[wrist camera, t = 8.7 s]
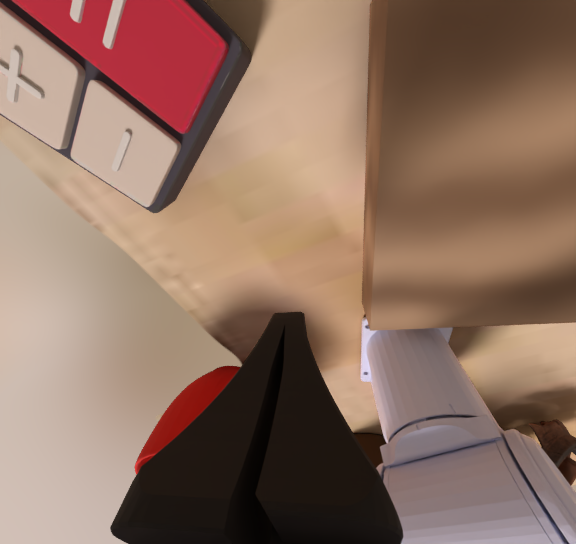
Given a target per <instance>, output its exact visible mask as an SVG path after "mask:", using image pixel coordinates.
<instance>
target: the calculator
mask: <svg viewBox="0 0 576 544" xmlns="http://www.w3.org/2000/svg"><path fill="white" fill-rule="evenodd" d="M250 62H251V53H250V50H249V49H248V47H247V46H246V45H245V44H244V43H243V41H242V40H241V39H240V38H239V37H238V36H237V34H236V33H235V32H234V31H233V30H232V29H231V28H230V27H229V26H228V25H227V24H226V23H225V22H224V21H223V20H222V19H221V18H220V17H219V16H218V15H217V14H216V13H215V12H214V11H213V10H212V9H211V8H210V7H209V6H208V5H207V4H206V3H205V2H204V1H203V0H0V115H2V116H3V117H5V118H6V119H8V120H9V121H11V122H12V123H14V124H15V125H17V126H19V127H20V128H22V129H23V130H25V131H26V132H28V133H29V134H31V135H33V136H34V137H36V138H37V139H39V140H40V141H42V142H43V143H45V144H46V145H48V146H50V147H51V148H53V149H54V150H56V151H57V152H59V153H60V154H62V155H63V156H65V157H67V158H68V159H70V160H71V161H73V162H74V163H76V164H77V165H79V166H81V167H82V168H84V169H85V170H87V171H88V172H90V173H91V174H93V175H94V176H96V177H98V178H99V179H101V180H102V181H104V182H105V183H107V184H108V185H110V186H112V187H113V188H115V189H116V190H118V191H119V192H121V193H122V194H124V195H125V196H127V197H129V198H130V199H132V200H133V201H135V202H136V203H138V204H139V205H141V206H142V207H144V208H146V209H147V210H149V211H150V212H153V213H158V212H160V211H161V210H163V209H164V208H165V207H167V206H168V205H170V204H171V203H172V202H174V201H175V200H176V198H177V196H178V194H179V193H180V191H181V189H182V187H183V185H184V183H185V182H186V180H187V178H188V176H189V174H190V172H191V171H192V169H193V167H194V165H195V163H196V162H197V160H198V158H199V156H200V154H201V152H202V151H203V149H204V147H205V145H206V143H207V141H208V140H209V138H210V136H211V134H212V132H213V130H214V129H215V127H216V125H217V123H218V121H219V119H220V118H221V116H222V114H223V112H224V110H225V108H226V107H227V105H228V103H229V101H230V99H231V97H232V96H233V94H234V92H235V90H236V88H237V86H238V85H239V83H240V81H241V79H242V77H243V75H244V74H245V72H246V70H247V68H248V66H249V64H250Z"/></svg>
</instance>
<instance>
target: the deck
mask: <svg viewBox="0 0 576 544" xmlns="http://www.w3.org/2000/svg"><path fill="white" fill-rule="evenodd" d="M362 304H363V308H364V311H365V315H366V318H367V322H368V325H369V329H370V331H375V330H400V329H425V328H449V327H474V326H499V325H523V324H548V323H572V322H576V0H372V2H371V4H370V27H369V64H368V100H367V137H366V173H365V210H364V246H363V283H362Z"/></svg>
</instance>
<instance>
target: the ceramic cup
mask: <svg viewBox="0 0 576 544" xmlns="http://www.w3.org/2000/svg"><path fill="white" fill-rule="evenodd" d="M240 368H241V367H237V366H223V367H219V368H217V369H215V370H213V371H212V372H210V373H207V374H205V375H203V376H202V377H200V378H198V379H197V380H195V381H194V382H193V383H191V384H190V385H189V386H187V387H186V388H185V389H184V390H183V391H182V392H181V393H180V394H179V395H178V396H177V397H176V399H175V400H174V401H173V402H172V403H171V405H170V406H169V407H168V408H167V410H166V411H165V413H164V414H163V416H162V417H161V419H160V420H159V422H158V424H157V425H156V427H155V429H154V430H153V432H152V434H151V435H150V437H149V439H148V440H147V442H146V444H145V446H144V447H143V449H142V451H141V453H140V455H139V457H138V459H137V462H136V464H135V472H136V474H137V473H138V472H139V470H140V468H141V466H142V465H144V464H145V463H146V462H147V461H148V460H150V459H151V458H152V457H153V456H154V455H155V454H157V453H158V452H159V451H160V450H161V449H162V448H164V447H165V446H166V445H167V444H168V443H169V442H171V441H172V440H173V439H174V438H175V437H176V436H177V435H179V434H180V433H181V432H182V431H183V430H184V429H185V428H186V427H187V426H188V425H189V424H190V423H191V422H192V421H193V420H194V419H195V418H196V417H197V416H198V415H199V414H200V413H202V412H203V410H204V409H205V408H206V407H207V406H208V405H209V404H210V403H211V402H212V401H213V400H214V399H215V398H216V397H217V395H218V394H219V393H220V392H221V391H222V390H223V389H224V388H225V386H226V385H227V384H228V383H229V382H230V380H231V379H232V378H233V377H234V375H235V374H236V373H237V371H238V370H239V369H240Z"/></svg>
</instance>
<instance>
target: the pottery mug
mask: <svg viewBox="0 0 576 544" xmlns="http://www.w3.org/2000/svg"><path fill="white" fill-rule="evenodd" d="M529 426H530V427H531V428H532V429H533V431H534V432H535V434H536V436H537V438H538V440H539V442H540V444H541V446H542V447H541V448H542V449H543V450H544V452H545V453H546V454H547V455H548V457H549V458H550V459H551V460H552V462H553V463H554V464H555V466H556V467H557V468H558V470H559V471H560V472H561V474H562V475H563V476H564V478H565V479H566V480H567V482H568V483H569V484H570V486H571V485H572V484H573V482H574V480H575V479H576V461H574V460H572V459H571V458H570V454H571V452H573V453H574V454H575V455H576V438H575V437H573V436H571V435H570V434H569V432H568V430H567V429H566V427H565V426H564V425H563V423H562V422H560V421H558V420H552V421H550V422H544V421H543V422H541V426H540V425H537V424H533V423H529Z"/></svg>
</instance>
